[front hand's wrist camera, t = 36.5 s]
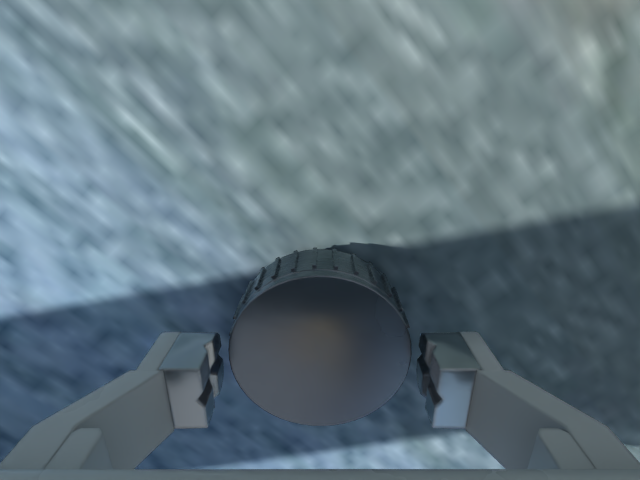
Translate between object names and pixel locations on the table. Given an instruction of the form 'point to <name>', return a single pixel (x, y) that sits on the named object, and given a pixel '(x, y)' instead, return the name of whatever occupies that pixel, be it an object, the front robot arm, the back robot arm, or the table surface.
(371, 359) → the lid
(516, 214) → the table surface
